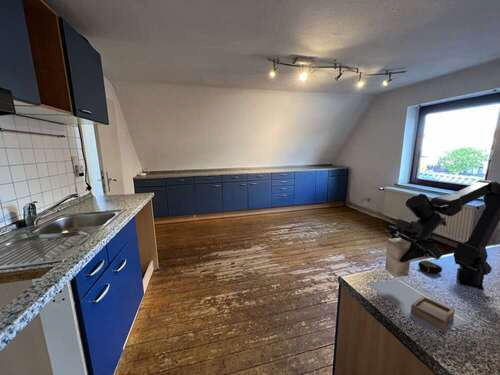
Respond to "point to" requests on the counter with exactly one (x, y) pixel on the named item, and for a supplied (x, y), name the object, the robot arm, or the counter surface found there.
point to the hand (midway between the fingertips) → (394, 258)
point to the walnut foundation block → (432, 312)
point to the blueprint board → (413, 301)
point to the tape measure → (429, 267)
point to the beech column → (397, 257)
